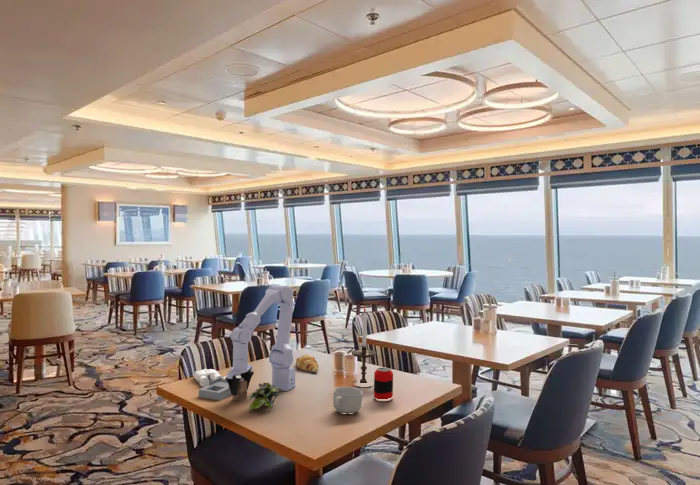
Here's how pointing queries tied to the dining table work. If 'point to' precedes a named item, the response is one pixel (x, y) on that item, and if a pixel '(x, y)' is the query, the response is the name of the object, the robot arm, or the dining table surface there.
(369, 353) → the candlestick
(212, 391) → the housing
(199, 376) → the binoculars
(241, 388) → the block
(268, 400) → the green leafy plant
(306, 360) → the croissant
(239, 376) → the lid
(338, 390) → the teacup
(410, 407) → the dining table surface
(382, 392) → the soda can
